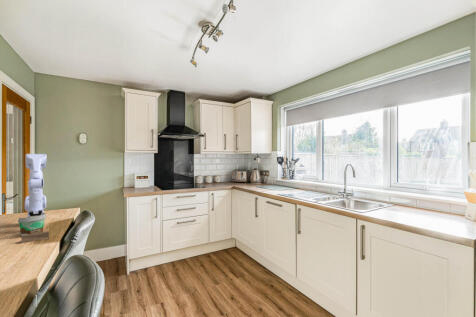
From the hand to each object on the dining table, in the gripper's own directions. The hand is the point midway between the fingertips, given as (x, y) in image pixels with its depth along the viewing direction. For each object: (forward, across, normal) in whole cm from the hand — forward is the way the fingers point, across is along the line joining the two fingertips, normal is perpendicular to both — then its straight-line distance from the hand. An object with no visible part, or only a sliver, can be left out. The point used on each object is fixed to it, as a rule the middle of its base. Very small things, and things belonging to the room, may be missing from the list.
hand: (35, 224), depth 125 cm
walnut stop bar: (+3, +20, 0) cm, 20 cm away
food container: (+3, +9, 0) cm, 10 cm away
